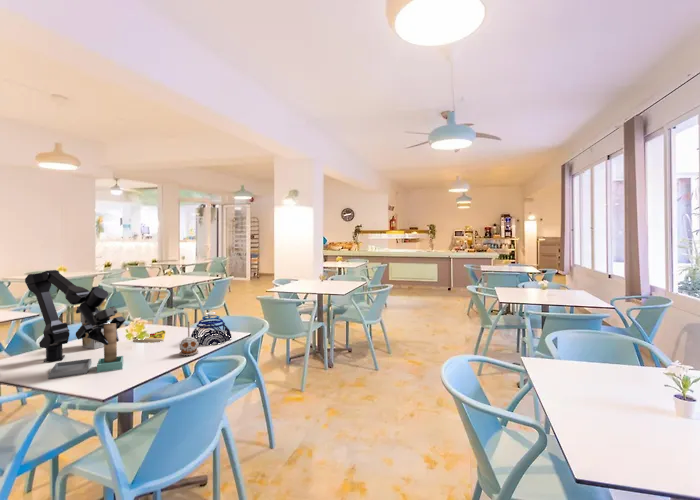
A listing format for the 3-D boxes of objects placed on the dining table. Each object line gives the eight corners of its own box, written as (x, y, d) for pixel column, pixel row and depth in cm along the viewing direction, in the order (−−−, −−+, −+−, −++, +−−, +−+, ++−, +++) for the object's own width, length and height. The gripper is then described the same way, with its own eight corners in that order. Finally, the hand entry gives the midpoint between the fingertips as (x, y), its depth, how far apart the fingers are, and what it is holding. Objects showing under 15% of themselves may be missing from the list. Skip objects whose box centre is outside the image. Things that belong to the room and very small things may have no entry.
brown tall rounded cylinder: (104, 359, 158) (104, 324, 158) (117, 358, 160) (116, 322, 160) (103, 363, 155) (103, 326, 154) (116, 361, 157) (115, 325, 156)
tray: (56, 367, 157) (56, 362, 157) (91, 363, 163) (91, 358, 163) (48, 379, 145) (48, 373, 145) (86, 373, 150) (86, 368, 150)
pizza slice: (131, 343, 194) (130, 337, 194) (151, 333, 215) (151, 327, 214) (161, 343, 194) (161, 338, 194) (179, 333, 215) (179, 328, 215)
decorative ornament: (180, 357, 171) (179, 324, 170) (179, 352, 177) (178, 320, 177) (199, 355, 174) (198, 322, 174) (197, 350, 181) (196, 319, 180)
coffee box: (107, 345, 188) (106, 313, 187) (94, 349, 182) (93, 316, 181) (94, 343, 191) (93, 312, 191) (81, 347, 185) (80, 314, 185)
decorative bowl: (192, 348, 185) (192, 318, 184) (187, 338, 202) (187, 311, 202) (234, 342, 195) (234, 314, 194) (226, 333, 212) (226, 308, 211)
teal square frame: (99, 365, 159) (99, 358, 159) (123, 362, 163) (123, 355, 163) (97, 372, 152) (96, 365, 152) (122, 369, 156) (121, 361, 156)
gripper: (80, 305, 149) (102, 335, 146) (121, 297, 167) (142, 324, 164) (65, 323, 151) (87, 354, 149) (108, 314, 169) (128, 341, 166)
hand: (112, 342), depth 157 cm, fingers closed on brown tall rounded cylinder, 4 cm apart
